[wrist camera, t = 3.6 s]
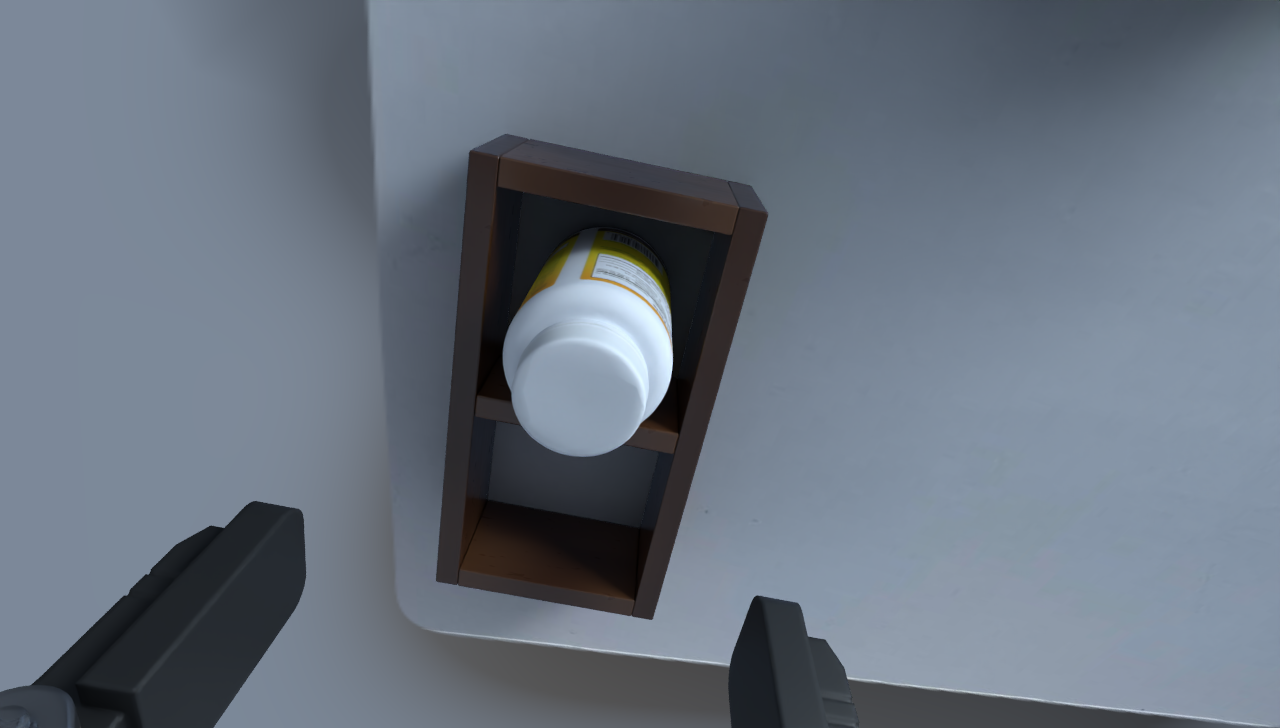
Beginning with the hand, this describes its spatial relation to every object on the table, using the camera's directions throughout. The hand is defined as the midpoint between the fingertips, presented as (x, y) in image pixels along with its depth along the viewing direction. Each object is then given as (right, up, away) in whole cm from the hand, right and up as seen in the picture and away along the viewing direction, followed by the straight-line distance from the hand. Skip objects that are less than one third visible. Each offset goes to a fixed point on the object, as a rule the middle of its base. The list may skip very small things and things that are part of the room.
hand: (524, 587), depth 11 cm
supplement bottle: (+1, +7, +17) cm, 18 cm away
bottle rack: (0, +4, +18) cm, 19 cm away
